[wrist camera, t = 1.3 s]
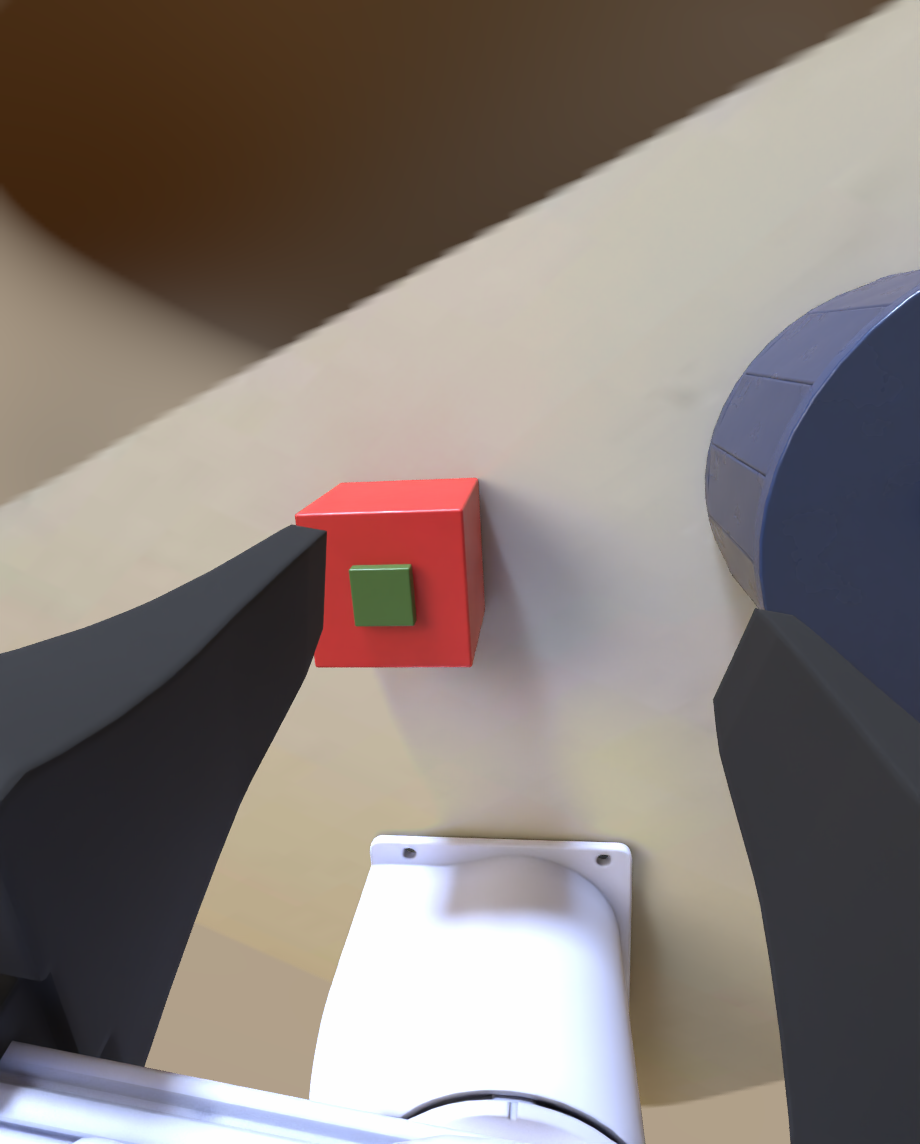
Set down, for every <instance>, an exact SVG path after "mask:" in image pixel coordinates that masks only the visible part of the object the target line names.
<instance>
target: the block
mask: <svg viewBox="0 0 920 1144" xmlns="http://www.w3.org/2000/svg"><path fill="white" fill-rule="evenodd" d="M295 520H296V525H297V526H303V527H308V528H314V529H319V530H325V531H327V546H326V572H325V597H324V623H323V630H322V633H321V636H320V639H319V642H318V645H317V647H316V650H315V653H314V657H315V664H316V667H471V666H472V664H473V660H474V655H475V651H476V647H477V642H478V638H479V633H480V629H481V625H482V620H483V616H484V612H485V599H484V580H483V561H482V541H481V522H480V503H479V484H478V479H477V478H462V479H436V480H409V481H383V482H356V483H341V484H339V485H337V486H336V487H335V488H333V489H332V490H330V491H329V492H327V493H326V494H324V495H323V496H321V497H320V498H319V499H317V500H316V501H314V502H313V503H311V504H310V505H308V506H307V507H306V508H304V509H303V510H301V511H300V512H298V513H297V514H296V515H295Z"/></svg>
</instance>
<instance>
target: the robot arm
mask: <svg viewBox="0 0 920 1144" xmlns="http://www.w3.org/2000/svg"><path fill="white" fill-rule="evenodd" d="M326 546H327V531H325V530H319V529H314V528H308V527H303V526H297V525H290V526H288V527H286V528H284V529H282V530H280V531H279V532H277V533H275V534H273V535H272V536H270V537H268V538H267V539H265V540H263V541H262V542H260V543H258V544H256V545H255V546H253V547H251V548H250V549H248V550H246V551H245V552H243V553H241V554H239V555H238V556H236V557H234V558H232V559H231V560H229V561H227V562H225V563H224V564H222V565H220V566H218V567H217V568H215V569H213V570H211V571H210V572H208V573H206V574H204V575H202V576H200V577H198V578H196V579H194V580H192V581H190V582H188V583H186V584H184V585H182V586H180V587H178V588H176V589H174V590H172V591H170V592H168V593H166V594H164V595H162V596H160V597H158V598H156V599H154V600H152V601H150V602H147V603H145V604H143V605H141V606H138V607H136V608H134V609H131V610H129V611H127V612H124V613H122V614H119V615H116V616H114V617H111V618H109V619H106V620H104V621H101V622H99V623H96V624H93V625H91V626H88V627H85V628H82V629H79V630H76V631H73V632H70V633H67V634H64V635H60V636H57V637H54V638H51V639H48V640H45V641H42V642H38V643H35V644H32V645H29V646H26V647H23V648H20V649H16V650H13V651H9V652H5V653H2V654H0V1144H645V1138H644V1129H643V1121H642V1113H641V1105H640V1097H639V1089H638V1080H637V1072H636V1064H635V1056H634V1048H633V1040H632V1032H631V1024H630V1016H629V995H630V950H631V906H632V862H633V861H632V855H631V850H630V849H629V848H628V846H626V845H624V844H622V843H612V842H581V841H550V840H518V839H487V838H455V837H424V836H392V835H382V836H378V837H376V838H375V839H374V840H373V841H372V844H371V847H370V856H371V864H372V866H371V869H370V872H369V875H368V878H367V881H366V884H365V887H364V890H363V893H362V896H361V899H360V902H359V905H358V908H357V911H356V914H355V917H354V920H353V923H352V926H351V929H350V932H349V935H348V938H347V941H346V944H345V947H344V949H343V952H342V955H341V958H340V961H339V964H338V967H337V970H336V973H335V976H334V979H333V982H332V985H331V989H330V992H329V995H328V998H327V1001H326V1005H325V1009H324V1013H323V1017H322V1021H321V1025H320V1030H319V1035H318V1040H317V1046H316V1051H315V1057H314V1063H313V1070H312V1077H311V1086H310V1098H309V1100H306V1099H301V1098H296V1097H291V1096H286V1095H281V1094H276V1093H271V1092H266V1091H261V1090H256V1089H251V1088H246V1087H241V1086H236V1085H231V1084H226V1083H221V1082H216V1081H211V1080H206V1079H201V1078H196V1077H191V1076H186V1075H181V1074H176V1073H171V1072H166V1071H161V1070H156V1069H151V1068H146V1067H144V1066H145V1063H146V1060H147V1057H148V1054H149V1051H150V1048H151V1045H152V1042H153V1039H154V1036H155V1033H156V1030H157V1027H158V1024H159V1021H160V1019H161V1016H162V1012H163V1010H164V1007H165V1004H166V1001H167V998H168V995H169V992H170V989H171V986H172V983H173V980H174V978H175V975H176V972H177V969H178V967H179V964H180V961H181V958H182V955H183V953H184V950H185V947H186V944H187V942H188V939H189V936H190V933H191V930H192V927H193V925H194V922H195V919H196V917H197V914H198V911H199V909H200V906H201V903H202V901H203V898H204V895H205V893H206V890H207V888H208V885H209V882H210V880H211V877H212V874H213V872H214V869H215V866H216V864H217V861H218V859H219V856H220V853H221V851H222V848H223V846H224V843H225V841H226V838H227V836H228V833H229V831H230V828H231V826H232V823H233V821H234V818H235V816H236V813H237V811H238V808H239V806H240V804H241V802H242V799H243V797H244V795H245V793H246V791H247V789H248V787H249V785H250V782H251V780H252V778H253V777H254V775H255V773H256V771H257V769H258V767H259V765H260V763H261V761H262V759H263V758H264V756H265V754H266V752H267V750H268V748H269V746H270V744H271V742H272V741H273V739H274V737H275V735H276V733H277V731H278V729H279V727H280V725H281V723H282V722H283V720H284V718H285V716H286V714H287V712H288V710H289V708H290V706H291V704H292V702H293V700H294V699H295V697H296V695H297V693H298V691H299V689H300V687H301V685H302V683H303V681H304V679H305V677H306V675H307V672H308V669H309V667H310V664H311V661H312V659H313V656H314V653H315V650H316V647H317V645H318V642H319V639H320V636H321V633H322V630H323V623H324V597H325V572H326ZM713 703H714V712H715V722H716V731H717V738H718V745H719V752H720V757H721V761H722V764H723V768H724V772H725V776H726V779H727V783H728V787H729V791H730V794H731V798H732V801H733V805H734V808H735V812H736V816H737V819H738V823H739V826H740V830H741V833H742V837H743V840H744V844H745V848H746V851H747V855H748V858H749V862H750V865H751V869H752V872H753V876H754V880H755V885H756V889H757V893H758V897H759V902H760V906H761V912H762V918H763V924H764V930H765V936H766V942H767V948H768V954H769V960H770V966H771V974H772V981H773V988H774V995H775V1003H776V1010H777V1017H778V1025H779V1032H780V1040H781V1050H782V1059H783V1068H784V1078H785V1087H786V1097H787V1106H788V1115H789V1126H790V1127H789V1128H790V1141H791V1144H920V723H919V722H918V721H917V720H916V719H915V718H913V717H912V716H911V715H910V714H909V713H907V712H906V711H905V710H904V709H903V708H901V707H900V706H899V705H898V704H897V703H895V702H894V701H893V700H892V699H891V698H890V697H888V696H887V695H886V694H885V693H884V692H883V691H881V690H880V689H879V688H878V687H877V686H876V685H875V684H873V683H872V682H871V681H870V680H869V679H868V678H867V677H865V676H864V675H863V674H862V673H861V672H860V671H859V670H857V669H856V668H855V667H854V666H853V665H852V664H851V663H850V662H848V661H847V660H846V659H845V658H844V657H843V656H842V655H841V654H839V653H838V652H837V651H836V650H835V649H834V648H833V647H831V646H830V645H829V644H828V643H827V642H826V641H825V640H823V639H822V638H821V637H820V636H819V635H818V634H816V633H815V632H814V631H813V630H812V629H810V628H809V627H808V626H807V625H805V624H804V623H803V622H801V621H800V620H799V619H797V618H796V617H795V616H793V615H790V614H784V613H779V612H773V611H768V610H762V609H757V608H755V610H754V612H753V614H752V617H751V619H750V621H749V623H748V625H747V627H746V630H745V632H744V634H743V636H742V638H741V640H740V643H739V645H738V647H737V649H736V651H735V653H734V656H733V658H732V660H731V662H730V664H729V666H728V669H727V671H726V673H725V675H724V677H723V679H722V682H721V684H720V686H719V688H718V690H717V692H716V695H715V697H714V699H713ZM405 848H412V849H413V850H415V851H416V852H409V851H407V850H406V849H405ZM603 854H604V855H608V856H609V857H608V858H605V859H601V858H598V856H599V855H603Z"/></svg>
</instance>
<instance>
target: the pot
mask: <svg viewBox="0 0 920 1144" xmlns="http://www.w3.org/2000/svg"><path fill="white" fill-rule="evenodd" d="M919 284H920V270H916V271H911V272H906V273H900V274H895V275H890V276H887V277H883V278H880V279H878V280H876V281H874V282H872V283H870V284H867V285H864V286H861V287H859V288H856V289H854V290H851V291H849V292H846V293H844V294H841V295H839V296H836V297H834V298H833V299H831V300H829V301H827V302H825V303H823V304H821V305H820V306H818V307H816V308H814V309H812V310H811V311H809V312H808V313H806V314H805V315H804V316H802V317H801V318H799V319H798V320H796V321H795V322H793V323H792V324H791V325H789V326H788V327H787V328H786V329H785V330H783V331H782V332H781V333H780V334H779V335H778V336H777V337H775V338H774V339H773V340H772V341H771V342H770V343H769V344H768V345H767V346H766V347H765V348H764V349H763V350H762V351H761V352H760V354H759V355H758V356H757V357H756V358H755V359H754V360H753V361H752V362H751V364H750V365H749V366H748V368H747V369H746V370H745V372H744V373H743V375H742V376H741V377H740V379H739V380H738V382H737V383H736V385H735V386H734V388H733V390H732V392H731V393H730V395H729V397H728V399H727V401H726V403H725V404H724V406H723V408H722V411H721V413H720V416H719V418H718V421H717V424H716V426H715V429H714V432H713V435H712V439H711V443H710V447H709V451H708V457H707V465H706V473H705V494H706V504H707V510H708V517H709V521H710V524H711V528H712V531H713V534H714V537H715V540H716V542H717V544H718V546H719V548H720V551H721V553H722V555H723V557H724V559H725V560H726V563H727V565H728V568H729V570H730V572H731V574H732V576H733V577H734V578H735V579H736V581H737V582H738V583H739V584H740V586H741V587H742V588H743V589H744V591H745V592H746V593H747V595H748V596H749V597H750V598H751V600H752V601H753V602H754V603H755V605H756V606H757V607H758V608H759V609H761V607H760V604H759V600H758V594H757V587H756V580H755V573H754V531H755V524H756V518H757V511H758V504H759V499H760V495H761V492H762V488H763V485H764V482H765V478H766V475H767V471H768V468H769V465H770V462H771V460H772V458H773V455H774V453H775V451H776V448H777V446H778V444H779V442H780V439H781V437H782V435H783V432H784V430H785V428H786V427H787V425H788V423H789V422H790V420H791V418H792V416H793V415H794V413H795V411H796V410H797V408H798V406H799V404H800V403H801V401H802V399H803V398H804V396H805V395H806V393H807V392H808V391H809V389H810V388H811V387H812V385H813V384H814V383H815V381H816V380H817V379H818V377H819V376H820V375H821V373H822V372H823V371H824V369H825V368H826V367H827V365H828V364H829V363H830V361H831V360H832V359H833V358H834V357H835V356H836V355H837V354H838V353H839V352H840V351H841V350H842V349H843V348H844V347H845V346H846V345H847V344H848V342H849V341H850V340H851V339H852V338H853V337H854V336H855V335H856V334H857V333H858V332H859V331H860V330H861V329H862V328H863V327H864V326H866V325H867V324H868V323H869V322H870V321H871V320H873V319H874V318H875V317H876V316H877V315H879V314H880V313H881V312H882V311H883V310H884V309H886V308H887V307H888V306H889V305H890V304H892V303H893V302H894V301H895V300H896V299H898V298H899V297H901V296H902V295H904V294H905V293H907V292H908V291H910V290H911V289H913V288H914V287H916V286H917V285H919Z"/></svg>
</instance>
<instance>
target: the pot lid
mask: <svg viewBox="0 0 920 1144" xmlns="http://www.w3.org/2000/svg"><path fill="white" fill-rule="evenodd" d="M754 573H755V580H756V587H757V594H758V600H759V604H760V607H761V609H762V610H768V611H773V612H779V613H784V614H790V615H793V616H795V617H796V618H797V619H799V620H800V621H801V622H803V623H804V624H805V625H807V626H808V627H809V628H810V629H812V630H813V631H814V632H815V633H816V634H818V635H819V636H820V637H821V638H822V639H823V640H825V641H826V642H827V643H828V644H829V645H830V646H831V647H833V648H834V649H835V650H836V651H837V652H838V653H839V654H841V655H842V656H843V657H844V658H845V659H846V660H847V661H848V662H850V663H851V664H852V665H853V666H854V667H855V668H856V669H857V670H859V671H860V672H861V673H862V674H863V675H864V676H865V677H867V678H868V679H869V680H870V681H871V682H872V683H873V684H875V685H876V686H877V687H878V688H879V689H880V690H881V691H883V692H884V693H885V694H886V695H887V696H888V697H890V698H891V699H892V700H893V701H894V702H895V703H897V704H898V705H899V706H900V707H901V708H903V709H904V710H905V711H906V712H907V713H909V714H910V715H911V716H912V717H913V718H915V719H916V720H917V721H918V722H919V723H920V284H919V285H917V286H916V287H914V288H913V289H911V290H910V291H908V292H907V293H905V294H904V295H902V296H901V297H899V298H898V299H896V300H895V301H894V302H893V303H892V304H890V305H889V306H888V307H887V308H886V309H884V310H883V311H882V312H881V313H880V314H879V315H877V316H876V317H875V318H874V319H873V320H871V321H870V322H869V323H868V324H867V325H866V326H864V327H863V328H862V329H861V330H860V331H859V332H858V333H857V334H856V335H855V336H854V337H853V338H852V339H851V340H850V341H849V342H848V344H847V345H846V346H845V347H844V348H843V349H842V350H841V351H840V352H839V353H838V354H837V355H836V356H835V357H834V358H833V359H832V360H831V361H830V363H829V364H828V365H827V367H826V368H825V369H824V371H823V372H822V373H821V375H820V376H819V377H818V379H817V380H816V381H815V383H814V384H813V385H812V387H811V388H810V389H809V391H808V392H807V393H806V395H805V396H804V398H803V399H802V401H801V403H800V404H799V406H798V408H797V410H796V411H795V413H794V415H793V416H792V418H791V420H790V422H789V423H788V425H787V427H786V428H785V430H784V432H783V435H782V437H781V439H780V442H779V444H778V446H777V448H776V451H775V453H774V455H773V458H772V460H771V462H770V465H769V468H768V471H767V475H766V478H765V482H764V485H763V488H762V492H761V495H760V499H759V504H758V511H757V518H756V524H755V531H754Z"/></svg>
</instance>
